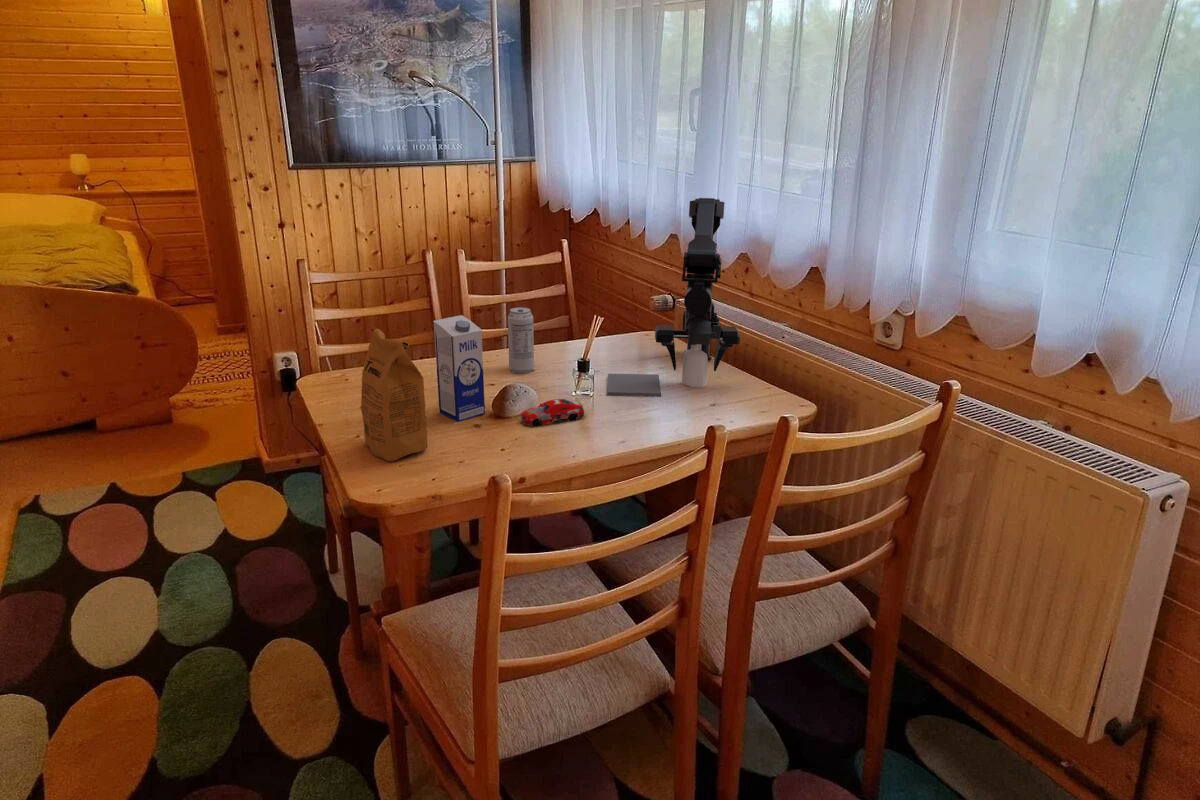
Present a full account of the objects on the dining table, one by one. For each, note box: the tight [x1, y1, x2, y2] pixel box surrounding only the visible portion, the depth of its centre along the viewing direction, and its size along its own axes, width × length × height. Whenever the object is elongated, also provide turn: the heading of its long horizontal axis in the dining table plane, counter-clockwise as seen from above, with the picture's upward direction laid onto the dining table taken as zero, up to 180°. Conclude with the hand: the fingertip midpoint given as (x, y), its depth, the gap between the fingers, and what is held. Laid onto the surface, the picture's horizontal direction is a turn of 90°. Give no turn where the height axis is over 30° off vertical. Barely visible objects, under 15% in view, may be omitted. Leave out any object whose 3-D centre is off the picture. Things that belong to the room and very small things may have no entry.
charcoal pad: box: [606, 373, 662, 398], centre depth 178 cm, size 13×12×1 cm
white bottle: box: [681, 344, 709, 389], centre depth 178 cm, size 4×6×12 cm
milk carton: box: [433, 314, 486, 423], centre depth 158 cm, size 7×7×20 cm
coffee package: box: [360, 328, 429, 462], centre depth 140 cm, size 10×12×22 cm
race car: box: [520, 398, 585, 428], centre depth 158 cm, size 13×5×4 cm, turn 112°
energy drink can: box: [507, 306, 535, 374], centre depth 185 cm, size 6×6×15 cm
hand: (694, 370), depth 179 cm, fingers open, 9 cm apart
